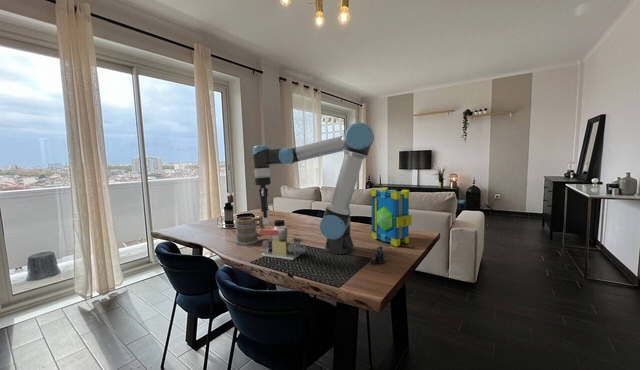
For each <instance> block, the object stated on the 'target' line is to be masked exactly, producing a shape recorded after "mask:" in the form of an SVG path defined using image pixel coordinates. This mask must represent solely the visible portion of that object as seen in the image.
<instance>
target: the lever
mask: <svg viewBox="0 0 640 370" xmlns="http://www.w3.org/2000/svg"><path fill="white" fill-rule="evenodd" d="M258 233H259V235H263V236H272V235H276V236H279V240H286V239H287V238H288V229H287V230H286V229H281V230H278V229H273V228H265V229H261V228H258Z"/></svg>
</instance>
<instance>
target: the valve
mask: <svg viewBox="0 0 640 370" xmlns="http://www.w3.org/2000/svg"><path fill="white" fill-rule="evenodd" d="M261 248H262V249H263V250H265V251H263V252H261V253H260V254H261V256H262V257H270V258H278V259H285V260H292V261H294V260H295V259H296V258H298V257H299V256H300V255H304V254H305V253H306V248H307V247H306V245H305V244H302V243H301V242H299V241H296V242H295V239H294V237H287V239H286V240H279V238H277V239H275V240H272V239H271V238H270V239H269V238H268V239H267V240H266V239H265V240H263V241H262V243H261Z"/></svg>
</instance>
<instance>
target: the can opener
mask: <svg viewBox="0 0 640 370" xmlns="http://www.w3.org/2000/svg"><path fill="white" fill-rule="evenodd" d="M383 248H384V247H383V246H382V245H381V246H380V245H379V246H378V248H377V249H376V256H375V255H374V256H371V257H370V258H369V261H370V263H371V264H384V263H386V260H385V259H386V258H385V257H386V256H387V255H386V253H385V252H384V251H383Z"/></svg>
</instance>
